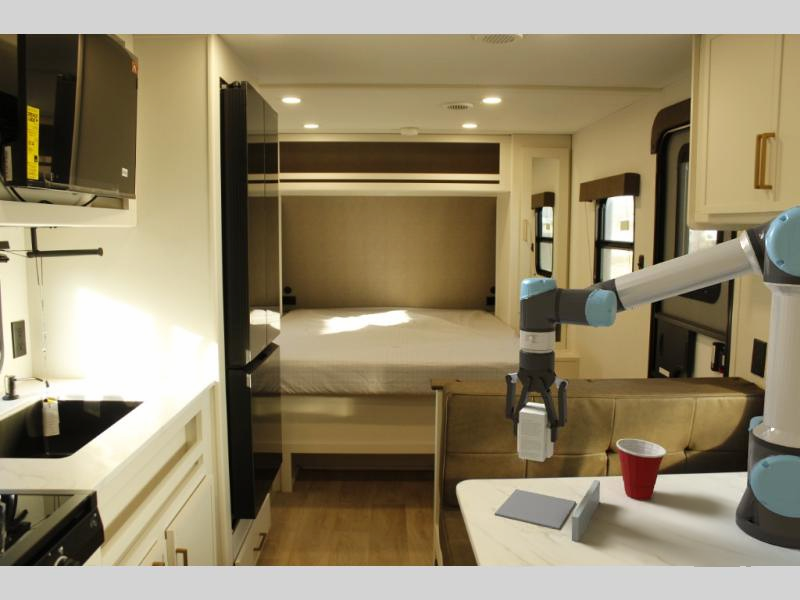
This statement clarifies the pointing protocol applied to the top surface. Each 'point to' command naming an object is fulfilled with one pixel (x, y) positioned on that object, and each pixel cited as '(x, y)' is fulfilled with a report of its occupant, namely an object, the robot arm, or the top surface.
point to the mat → (536, 509)
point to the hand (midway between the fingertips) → (535, 452)
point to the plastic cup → (639, 466)
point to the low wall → (585, 510)
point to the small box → (533, 432)
